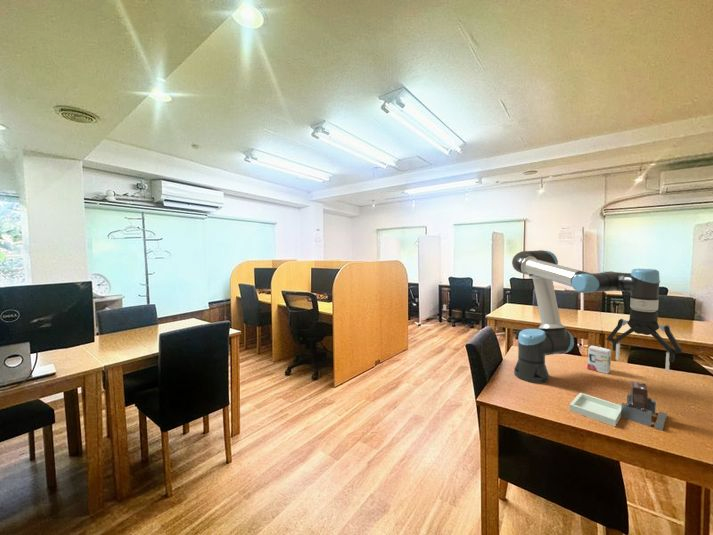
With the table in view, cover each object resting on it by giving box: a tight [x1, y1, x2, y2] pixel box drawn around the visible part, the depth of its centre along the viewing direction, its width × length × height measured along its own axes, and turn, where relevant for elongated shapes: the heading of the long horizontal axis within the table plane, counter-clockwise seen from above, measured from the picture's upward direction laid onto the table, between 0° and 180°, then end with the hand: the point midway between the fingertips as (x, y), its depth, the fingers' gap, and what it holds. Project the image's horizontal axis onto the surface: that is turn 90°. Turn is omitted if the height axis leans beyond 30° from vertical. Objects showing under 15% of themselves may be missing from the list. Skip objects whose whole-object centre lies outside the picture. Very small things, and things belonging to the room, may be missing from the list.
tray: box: [568, 392, 622, 427], centre depth 115 cm, size 14×14×3 cm
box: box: [630, 381, 649, 409], centre depth 111 cm, size 6×4×12 cm
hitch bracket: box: [620, 392, 668, 431], centre depth 110 cm, size 11×13×6 cm
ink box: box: [587, 345, 612, 374], centre depth 150 cm, size 9×5×12 cm, turn 37°
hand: (641, 364), depth 110 cm, fingers open, 13 cm apart
